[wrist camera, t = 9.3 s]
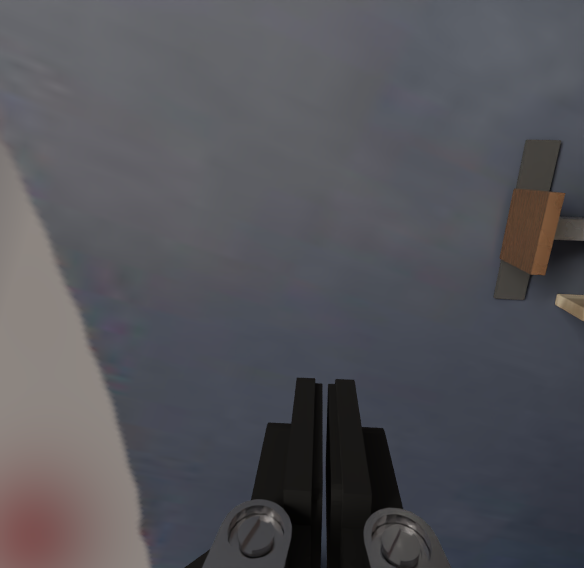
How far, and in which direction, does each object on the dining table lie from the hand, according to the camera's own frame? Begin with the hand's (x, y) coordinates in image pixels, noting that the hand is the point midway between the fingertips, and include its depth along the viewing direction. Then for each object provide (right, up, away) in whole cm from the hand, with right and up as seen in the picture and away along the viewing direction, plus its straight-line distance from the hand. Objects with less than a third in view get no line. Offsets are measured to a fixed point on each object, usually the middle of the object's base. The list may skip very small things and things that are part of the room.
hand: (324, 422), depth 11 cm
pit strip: (+23, +10, +27) cm, 37 cm away
